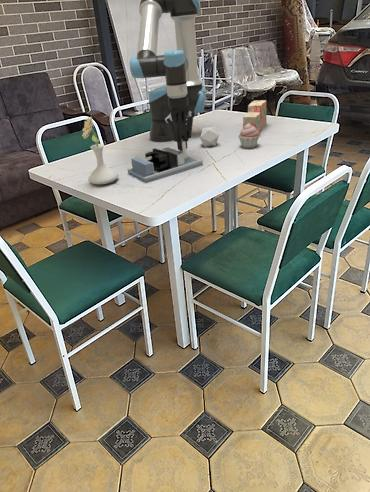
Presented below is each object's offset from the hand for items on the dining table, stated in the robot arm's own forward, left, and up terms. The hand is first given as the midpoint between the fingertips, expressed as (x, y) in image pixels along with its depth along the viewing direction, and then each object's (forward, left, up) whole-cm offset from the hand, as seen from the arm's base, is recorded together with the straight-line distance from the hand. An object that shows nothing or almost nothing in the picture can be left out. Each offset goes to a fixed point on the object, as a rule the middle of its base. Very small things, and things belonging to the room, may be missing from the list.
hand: (183, 157), depth 170 cm
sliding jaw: (0, -3, -1) cm, 4 cm away
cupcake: (+3, +32, -3) cm, 33 cm away
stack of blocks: (-14, +51, -3) cm, 53 cm away
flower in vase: (-6, -33, -3) cm, 33 cm away
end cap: (0, -11, -2) cm, 11 cm away
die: (-12, +22, -3) cm, 26 cm away
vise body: (0, -9, -3) cm, 9 cm away
